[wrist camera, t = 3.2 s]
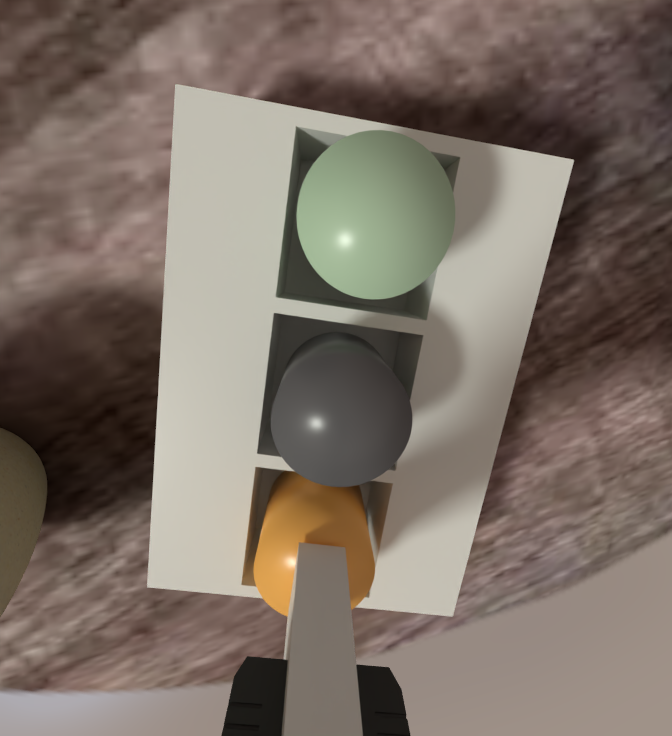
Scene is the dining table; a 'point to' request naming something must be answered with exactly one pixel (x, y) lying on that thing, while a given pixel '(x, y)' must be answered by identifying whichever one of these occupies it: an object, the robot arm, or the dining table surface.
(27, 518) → the flower pot
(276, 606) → the orange rounded piece
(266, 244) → the white compartment box
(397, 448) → the black button
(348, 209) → the green button
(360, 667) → the robot arm
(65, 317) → the dining table surface
